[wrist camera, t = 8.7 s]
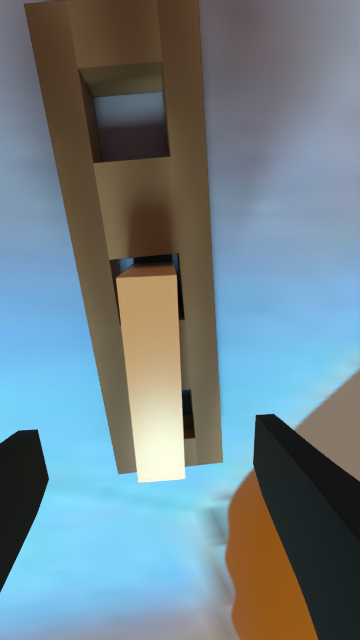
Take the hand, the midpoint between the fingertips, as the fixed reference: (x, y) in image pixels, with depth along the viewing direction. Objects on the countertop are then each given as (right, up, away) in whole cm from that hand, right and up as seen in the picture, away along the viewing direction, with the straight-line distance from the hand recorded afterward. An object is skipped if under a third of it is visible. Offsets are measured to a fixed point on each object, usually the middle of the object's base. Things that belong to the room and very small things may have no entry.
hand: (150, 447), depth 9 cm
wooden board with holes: (-1, +7, +8) cm, 10 cm away
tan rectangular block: (0, +3, +9) cm, 9 cm away
